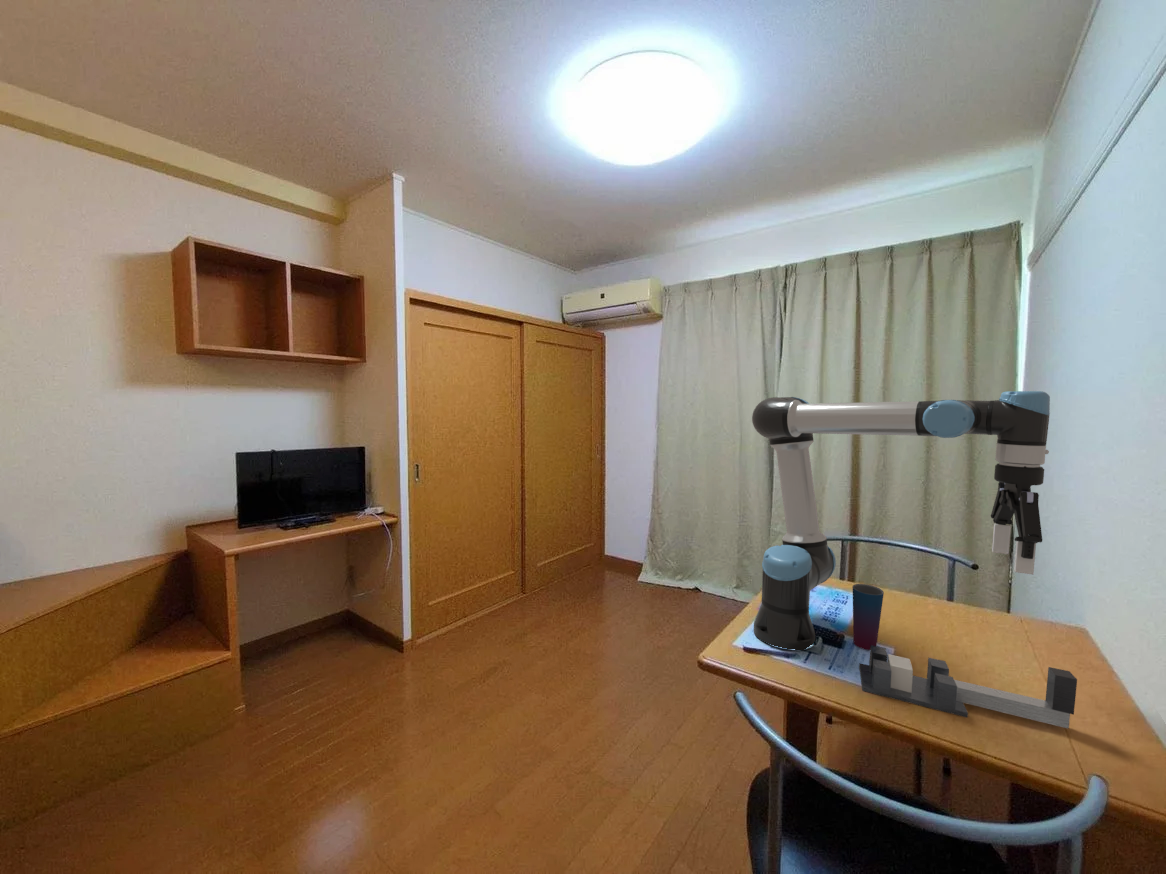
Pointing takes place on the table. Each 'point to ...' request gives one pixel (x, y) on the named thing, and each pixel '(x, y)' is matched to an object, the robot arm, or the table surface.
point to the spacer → (901, 673)
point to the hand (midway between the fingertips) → (1011, 562)
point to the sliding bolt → (1027, 699)
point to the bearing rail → (913, 684)
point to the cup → (866, 614)
